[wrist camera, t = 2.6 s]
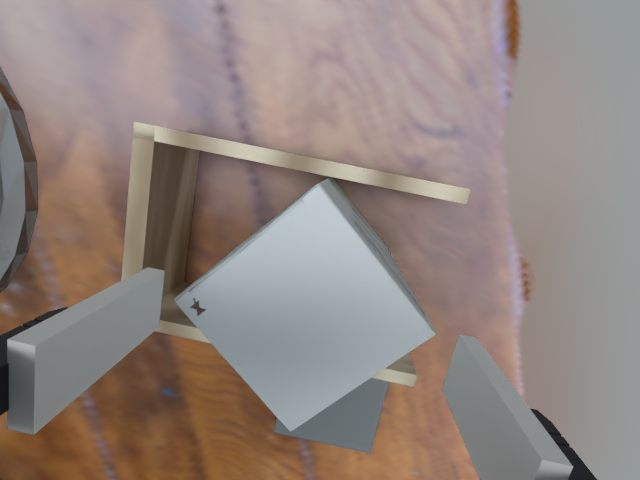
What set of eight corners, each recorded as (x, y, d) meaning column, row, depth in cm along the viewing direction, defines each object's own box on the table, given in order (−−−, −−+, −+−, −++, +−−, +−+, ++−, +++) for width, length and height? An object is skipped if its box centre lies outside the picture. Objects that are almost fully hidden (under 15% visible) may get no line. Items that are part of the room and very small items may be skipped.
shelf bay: (168, 288, 35) (117, 323, 27) (185, 132, 32) (133, 121, 24) (398, 336, 34) (414, 386, 27) (438, 183, 31) (470, 189, 23)
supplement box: (313, 310, 34) (285, 441, 18) (252, 236, 33) (162, 305, 17) (393, 251, 33) (444, 337, 16) (331, 172, 32) (319, 178, 15)
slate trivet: (276, 423, 37) (273, 432, 36) (292, 338, 35) (291, 344, 34) (369, 444, 37) (370, 453, 36) (391, 359, 35) (393, 366, 34)
